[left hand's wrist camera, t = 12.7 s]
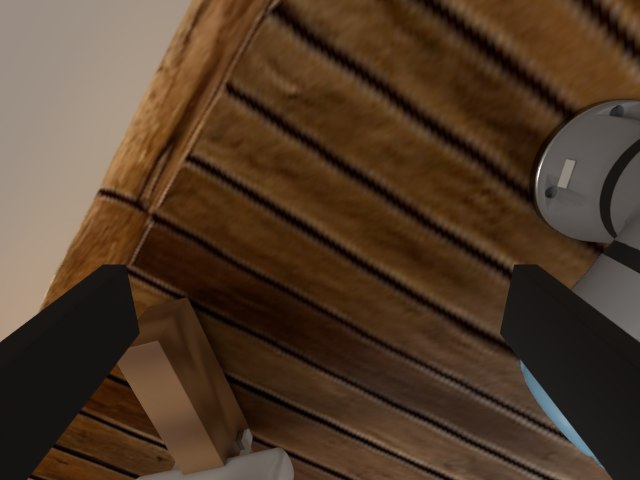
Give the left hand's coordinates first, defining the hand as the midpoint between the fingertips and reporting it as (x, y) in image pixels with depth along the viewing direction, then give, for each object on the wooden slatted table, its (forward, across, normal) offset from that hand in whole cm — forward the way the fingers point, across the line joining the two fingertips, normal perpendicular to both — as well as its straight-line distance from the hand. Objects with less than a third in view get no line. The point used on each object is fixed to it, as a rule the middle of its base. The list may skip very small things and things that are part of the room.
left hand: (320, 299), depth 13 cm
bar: (+28, -16, -28) cm, 43 cm away
